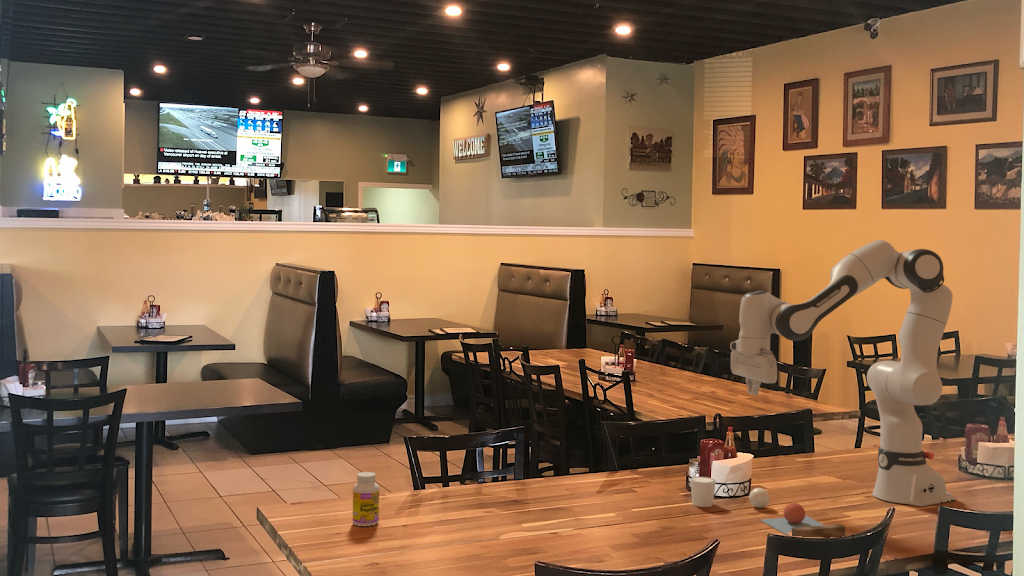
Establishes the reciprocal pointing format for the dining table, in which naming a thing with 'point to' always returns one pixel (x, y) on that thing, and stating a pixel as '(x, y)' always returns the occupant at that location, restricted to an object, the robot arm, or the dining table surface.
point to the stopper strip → (820, 531)
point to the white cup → (702, 491)
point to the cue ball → (759, 497)
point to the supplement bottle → (366, 500)
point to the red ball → (794, 513)
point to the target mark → (790, 524)
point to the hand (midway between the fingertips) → (752, 394)
